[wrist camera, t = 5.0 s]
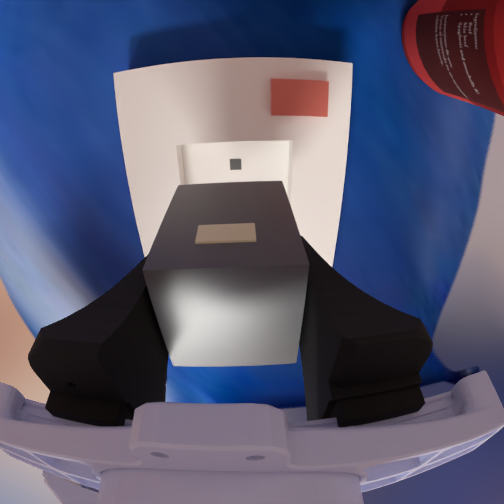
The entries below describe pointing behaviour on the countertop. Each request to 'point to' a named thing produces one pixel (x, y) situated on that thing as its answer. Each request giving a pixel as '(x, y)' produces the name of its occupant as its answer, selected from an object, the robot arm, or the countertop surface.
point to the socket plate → (238, 135)
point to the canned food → (458, 49)
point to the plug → (229, 275)
